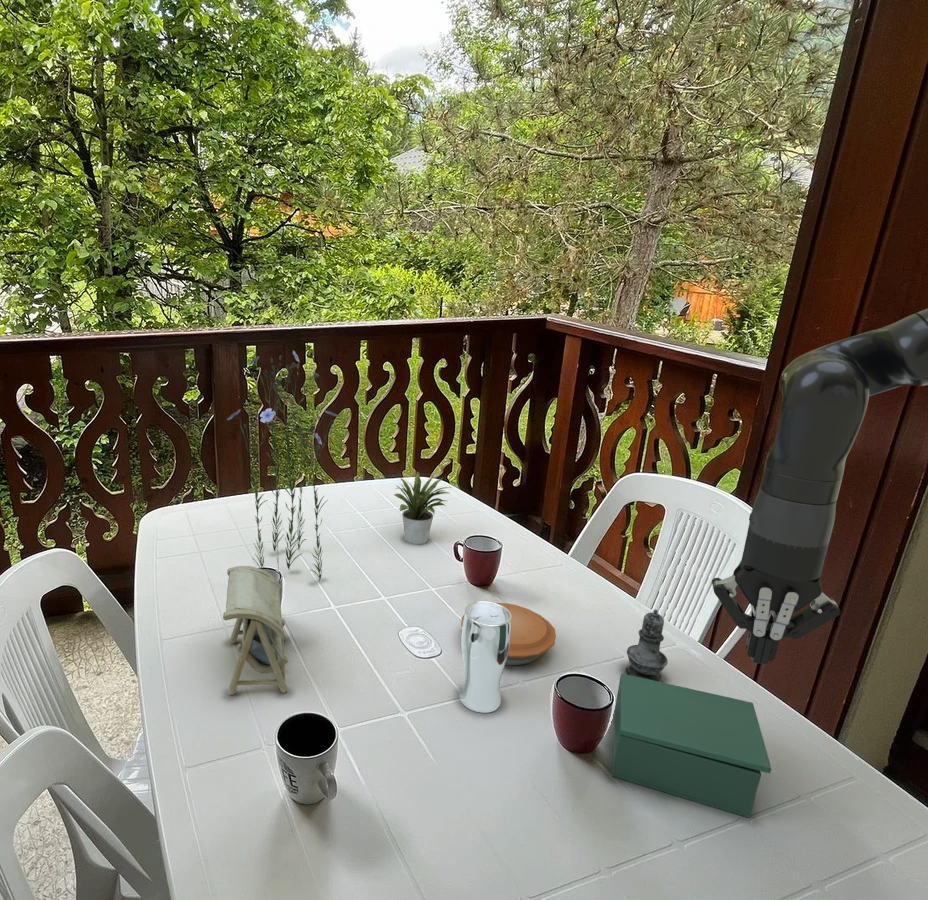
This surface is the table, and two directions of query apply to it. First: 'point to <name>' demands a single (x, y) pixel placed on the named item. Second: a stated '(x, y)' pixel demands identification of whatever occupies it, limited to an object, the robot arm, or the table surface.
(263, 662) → the swing bench
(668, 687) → the lid
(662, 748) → the green open box
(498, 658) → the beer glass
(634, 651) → the stone chess piece
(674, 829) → the table surface
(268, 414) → the wildflower
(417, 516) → the house plant
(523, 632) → the pie
